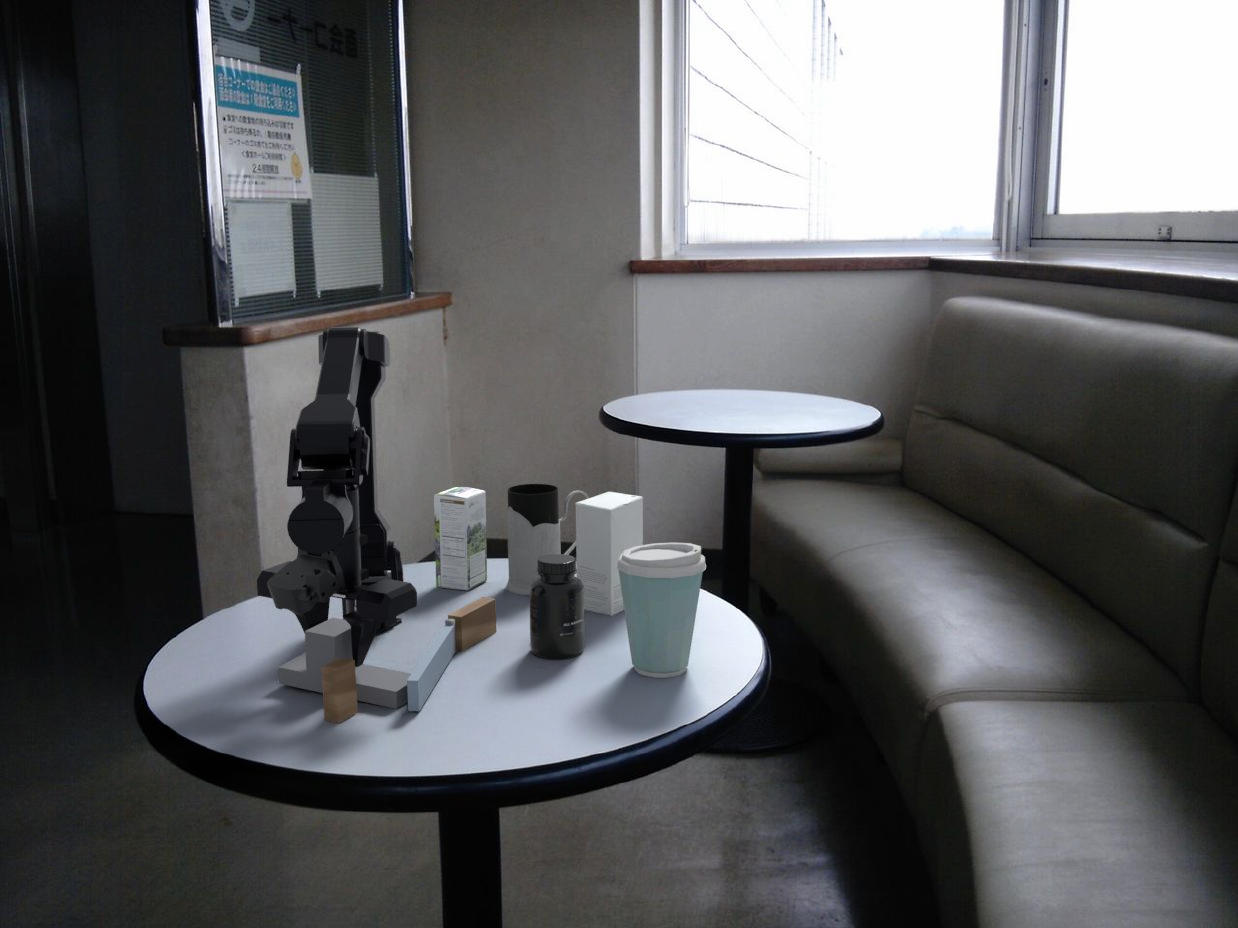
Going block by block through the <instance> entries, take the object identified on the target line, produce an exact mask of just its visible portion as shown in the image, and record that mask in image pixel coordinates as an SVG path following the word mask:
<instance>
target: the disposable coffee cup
mask: <svg viewBox="0 0 1238 928" xmlns="http://www.w3.org/2000/svg"><path fill="white" fill-rule="evenodd" d="M617 569H618V570H619V577H620V584H621V591H622V598H623V605H624V610H623V611H624V616H625V625H626V630H627V638H628V645H629V652H630V658H631V664H632V665H633V666H634V671H635V672H637V673H638V675H640V676H645V677H648V678H657V679H662V678H663V679H669V678H674V677H679V676H680V675H682V674H684V673H686V670H687V669H686V668H687V667H688V666H689V661H690V654H691V649H692V648H691V647H692V643H693V636H694V630H695V625H696V624H695V622H696V616H697V610H698V604H699V597H700V592H701V584H702V579H703V573H704V571H705V570H706V569H707V564H706V556H704V555H703V554H702V546H701V545H697V544H694V543H691V542H675V541H674V542H658V543H649V544H643V545H641V546H635V547H632V548H630V549H627V550H624V552H623V553H622V554H620V556H619V559H618V565H617Z"/></svg>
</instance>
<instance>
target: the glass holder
mask: <svg viewBox="0 0 1238 928" xmlns="http://www.w3.org/2000/svg"><path fill="white" fill-rule="evenodd" d="M576 494H582V495H583V496H584V498H585V500H586V499H589V498H590V497H589V495H588V494H587V493H586V492H585V491H582V490H574V491H571V492H570V493H569V494H568V495H567V496H566V497H565V500H564V503H563V515H562V517H561V518H560V513H559V512H560V511H559V509H560V507H559V487H557V486H556V485H552V484H549V483H548V484H546V483H525V484H518V485H517V484H516V485H514V486H510V487H508V488H507V508H506V521H507V522H506V523H507V524H506V525H507V526H506V527H507V529H506V530H507V557H508V558H507V559H508V582H507V583H506V585H505V589H506V590H507V591H508V592H510V593H513V594H516V595H523V596H530V585H531V583H532V582H533V581H534V580H535V579H536V578H538V577H539V575H538V574H537V560H538V558H539V557H541V556H544V555H550V554H562V553H561V549H562V548H561V547H562V546H561V523H562V522H564V521H565V520H566V519H567V517H568V509H569V508H568V507H569V502H570V500H571V498H572V497H573V496H574V495H576ZM575 547H576V540H575V541H574V542H573V543H572V545H570V547H569V548H568V549H566V551H565V552H564V554H565V555H570V553H572V551H573V550H574V549H576V548H575Z"/></svg>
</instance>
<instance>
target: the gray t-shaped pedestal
mask: <svg viewBox="0 0 1238 928" xmlns="http://www.w3.org/2000/svg"><path fill="white" fill-rule="evenodd" d="M304 638H305V639H304V642H305V646H304V647H305V652H304V653H301V655H300V654H299V656H297V657H295V658H294V657H293V659H291V660H290V659H289V661H287V662H285V663H283V664H281V665H279V666H277V674H278V675H277V676H278V677H277V679H278V681H277V682H278V684H280V685H285V686H289V687H293V688H298V689H303V690H307V691H312V692H317V693H321V694H323V686H322V670H321V667H322V666H324V665H326V664H328V663H330V662H332V661H334V660H336V659H338V658H345V659H350V660H353V657H352V642H351V626H350V624H349V623H348V622H347V621H346V620H343V618H338V617H337V618H336V617H331V618H328V620H327V621H325V622H323V623H321V624H319V625H316V626H314V627H312V628H310V629H308V630H306V631H305V633H304ZM411 674H412V672H411V673H410V672H404V671H400V670H397V669H396V670H395V669H392V668H391V669H390V668H386V667H380V666H375V665H371V664H370V665H369V664H366V663H363V664H362V665H361V666H359V667H355V675H356V692H357V702H358V701H359V702H363V703H366V704H367V703H369V704H373V705H378V706H381V707H386V708H391V709H395V710H396V709H398V708H400V707H402V706H403V705H404V704H405V703H408V692H407V680H408V678H409V677H410V675H411Z"/></svg>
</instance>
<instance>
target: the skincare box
mask: <svg viewBox="0 0 1238 928" xmlns="http://www.w3.org/2000/svg"><path fill="white" fill-rule="evenodd" d="M643 506H644V496H641V495H635V494H634V495H633V494H627V493H626V494H625V493H621V492H615V491H606V492H604V493H603V492H602V493H600V494H598V495H595V496H592V497H589V499H586V498H585V499H583V500H580V501H577V502H575V541H576V548H575V549H576V550H575V552H576V554H575V559H576V569H577V573H576V577H577V578H578V579H580V580H581V582H582V583H583V585H584V611H588V612H592V613H596V614H602V615H606V616H610V617H612V616H615V615H617V614H619V613H620V612H623V611H624V605H623V598H622V591H621V584H620V577H619V570H618V569H617V565H618V559H619V556H620V554H622V553H623V552H624V550H627V549H630V548H632V547H635V546H641V545H644V538H643V537H644V530H643V529H644V528H643V527H644V521H643V520H644V515H643V513H644V507H643Z"/></svg>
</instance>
